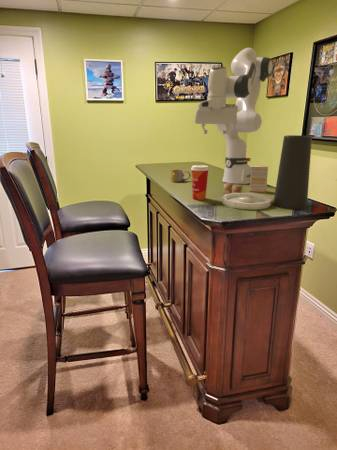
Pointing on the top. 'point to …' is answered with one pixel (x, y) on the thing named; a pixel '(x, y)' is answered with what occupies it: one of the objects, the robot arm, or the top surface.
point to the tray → (246, 201)
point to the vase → (293, 173)
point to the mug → (178, 176)
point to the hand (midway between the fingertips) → (214, 134)
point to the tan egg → (227, 188)
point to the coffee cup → (199, 181)
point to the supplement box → (258, 178)
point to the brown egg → (236, 189)
